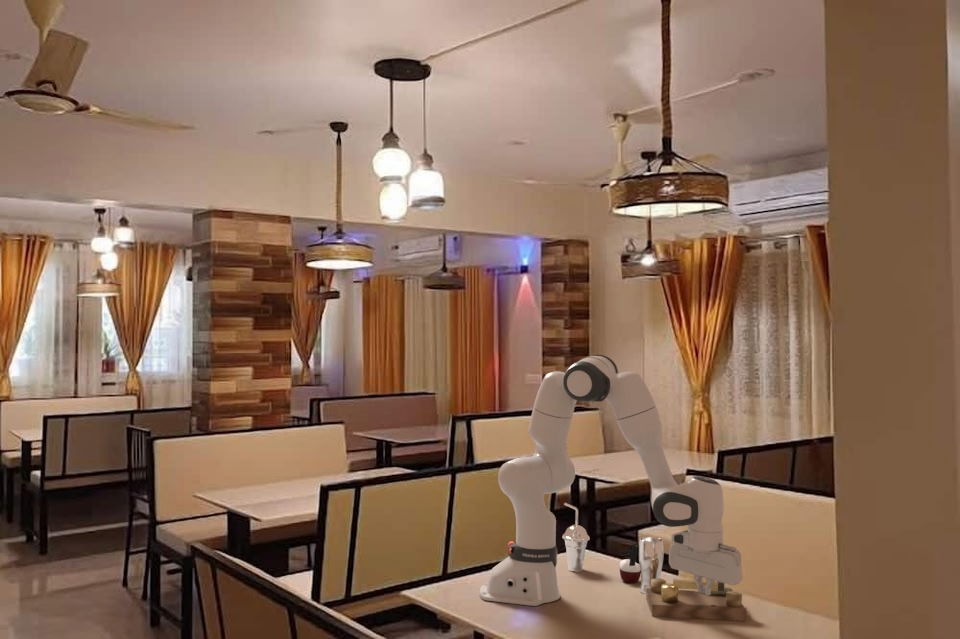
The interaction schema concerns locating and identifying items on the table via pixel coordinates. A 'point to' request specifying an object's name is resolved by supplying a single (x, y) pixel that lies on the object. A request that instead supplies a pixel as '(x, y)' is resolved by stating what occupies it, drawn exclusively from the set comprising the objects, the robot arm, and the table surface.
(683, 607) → the levelling base
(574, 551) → the cup with straw
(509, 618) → the table surface
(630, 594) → the table surface
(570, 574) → the table surface
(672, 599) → the lever handle
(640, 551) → the beer glass
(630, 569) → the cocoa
